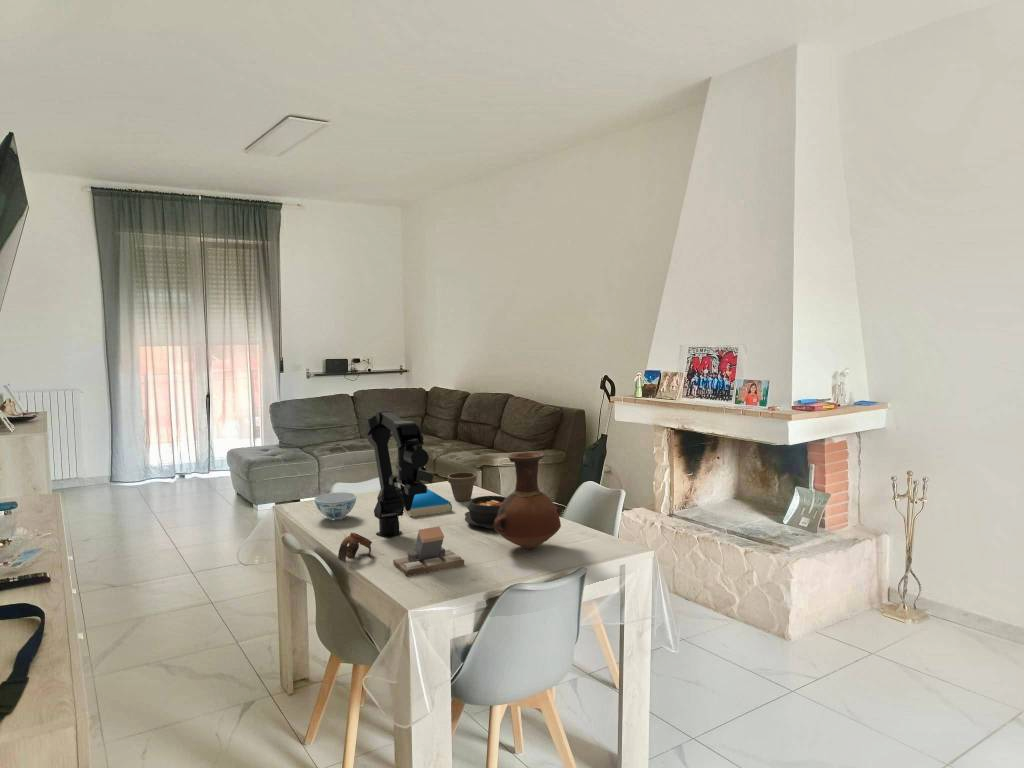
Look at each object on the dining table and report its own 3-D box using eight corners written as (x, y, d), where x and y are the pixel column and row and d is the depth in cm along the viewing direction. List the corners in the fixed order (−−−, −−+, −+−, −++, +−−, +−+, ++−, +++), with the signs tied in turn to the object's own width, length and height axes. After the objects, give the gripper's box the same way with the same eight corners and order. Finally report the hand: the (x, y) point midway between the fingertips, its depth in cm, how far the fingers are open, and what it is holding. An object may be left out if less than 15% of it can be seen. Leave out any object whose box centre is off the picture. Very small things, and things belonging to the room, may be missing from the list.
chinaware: (307, 521, 253) (306, 500, 252) (329, 511, 267) (328, 491, 267) (343, 524, 249) (343, 503, 248) (364, 513, 263) (363, 493, 262)
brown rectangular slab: (393, 564, 207) (393, 552, 207) (449, 554, 216) (449, 542, 216) (406, 576, 198) (406, 563, 197) (464, 565, 206) (464, 552, 206)
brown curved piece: (337, 554, 219) (349, 529, 220) (364, 567, 219) (376, 542, 221) (332, 557, 207) (345, 531, 209) (361, 570, 207) (374, 544, 209)
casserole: (531, 528, 242) (531, 505, 241) (482, 537, 233) (482, 512, 232) (498, 511, 264) (498, 490, 263) (453, 518, 255) (452, 496, 254)
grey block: (413, 553, 208) (418, 529, 203) (434, 549, 211) (439, 526, 207) (417, 563, 205) (422, 539, 200) (439, 559, 209) (444, 535, 204)
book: (409, 508, 257) (388, 492, 279) (409, 519, 258) (388, 503, 280) (452, 501, 265) (428, 487, 287) (452, 513, 266) (428, 497, 288)
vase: (535, 533, 236) (535, 445, 234) (578, 547, 221) (578, 453, 219) (478, 549, 220) (476, 455, 218) (519, 565, 205) (518, 464, 203)
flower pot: (452, 504, 275) (452, 479, 274) (444, 497, 286) (444, 473, 285) (480, 501, 279) (480, 476, 278) (471, 494, 290) (471, 470, 289)
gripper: (442, 464, 216) (443, 514, 217) (420, 454, 232) (421, 500, 234) (408, 468, 211) (409, 519, 212) (387, 458, 227) (389, 505, 228)
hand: (408, 510), depth 222 cm, fingers closed
